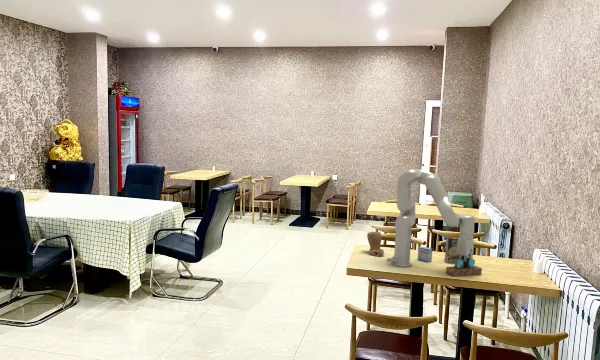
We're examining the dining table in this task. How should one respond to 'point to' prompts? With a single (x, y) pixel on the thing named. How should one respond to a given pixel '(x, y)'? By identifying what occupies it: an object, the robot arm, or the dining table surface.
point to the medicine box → (424, 254)
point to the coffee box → (451, 249)
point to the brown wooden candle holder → (463, 271)
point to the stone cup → (375, 243)
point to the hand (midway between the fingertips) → (464, 266)
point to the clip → (461, 262)
